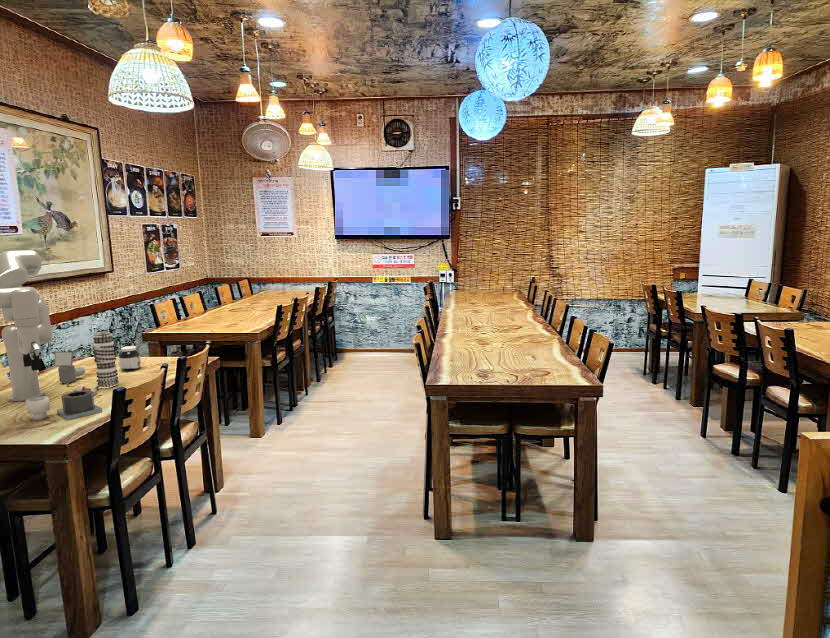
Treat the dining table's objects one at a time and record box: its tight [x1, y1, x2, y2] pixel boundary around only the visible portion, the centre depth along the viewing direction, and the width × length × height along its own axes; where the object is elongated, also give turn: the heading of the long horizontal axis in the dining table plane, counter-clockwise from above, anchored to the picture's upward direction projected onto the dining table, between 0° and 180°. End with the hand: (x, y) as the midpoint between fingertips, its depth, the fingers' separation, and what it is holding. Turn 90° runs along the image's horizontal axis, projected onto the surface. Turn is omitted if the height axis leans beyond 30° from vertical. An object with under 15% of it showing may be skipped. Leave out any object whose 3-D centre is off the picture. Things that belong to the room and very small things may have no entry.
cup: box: [25, 395, 51, 421], centre depth 208 cm, size 7×7×8 cm
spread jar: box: [117, 345, 142, 372], centre depth 282 cm, size 12×11×12 cm
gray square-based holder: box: [56, 390, 103, 421], centre depth 214 cm, size 12×12×8 cm
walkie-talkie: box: [72, 385, 99, 396], centre depth 237 cm, size 9×4×20 cm
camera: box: [53, 351, 86, 385], centre depth 261 cm, size 9×12×15 cm
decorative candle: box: [92, 330, 120, 387], centre depth 250 cm, size 9×9×25 cm
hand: (33, 367), depth 206 cm, fingers open, 9 cm apart
